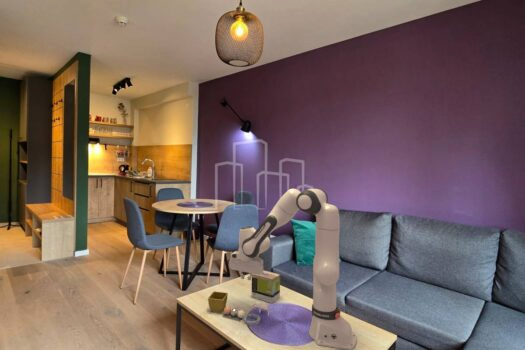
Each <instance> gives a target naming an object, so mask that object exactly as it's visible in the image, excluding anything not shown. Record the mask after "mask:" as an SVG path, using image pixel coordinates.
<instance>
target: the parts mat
mask: <svg viewBox="0 0 525 350" xmlns="http://www.w3.org/2000/svg"><path fill="white" fill-rule="evenodd" d="M221 317H222V318H225V319H228V320H232V321H237V322H239V323H240V322H241V321H243V318H239V317H238V315H237V316H232V315H231V313H230V314H228V315H226V314H225V313H224V314H223V315H222V316H221Z"/></svg>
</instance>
